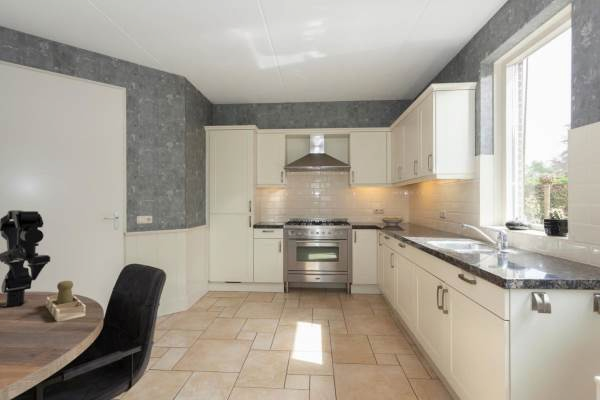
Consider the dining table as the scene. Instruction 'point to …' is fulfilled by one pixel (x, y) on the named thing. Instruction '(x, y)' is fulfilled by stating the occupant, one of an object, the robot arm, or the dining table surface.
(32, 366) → the dining table surface
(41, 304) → the dining table surface
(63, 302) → the cork
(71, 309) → the wooden compartment tray
